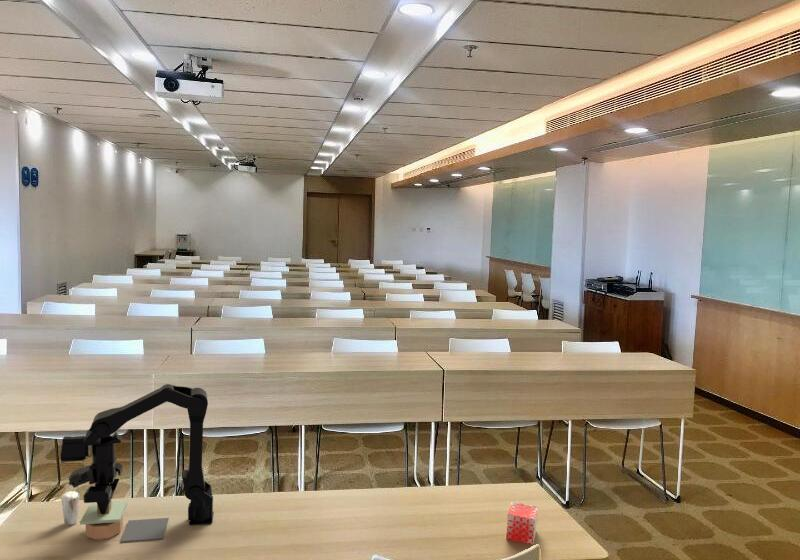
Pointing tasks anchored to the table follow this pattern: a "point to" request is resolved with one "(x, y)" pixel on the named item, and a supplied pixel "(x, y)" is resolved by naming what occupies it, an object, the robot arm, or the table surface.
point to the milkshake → (70, 507)
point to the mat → (145, 530)
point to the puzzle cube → (522, 523)
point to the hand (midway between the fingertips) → (104, 510)
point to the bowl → (104, 530)
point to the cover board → (111, 515)
